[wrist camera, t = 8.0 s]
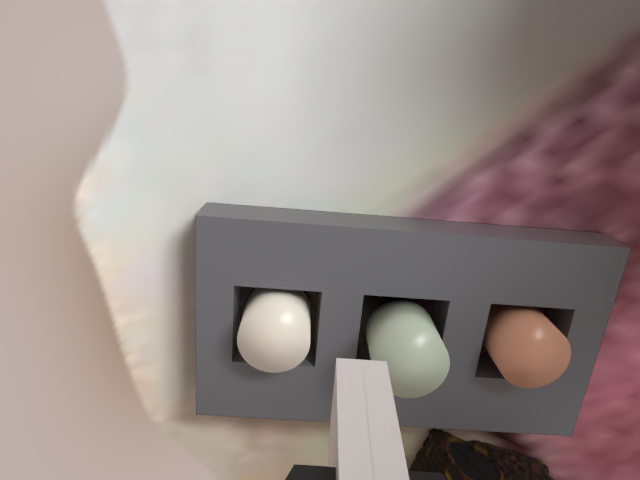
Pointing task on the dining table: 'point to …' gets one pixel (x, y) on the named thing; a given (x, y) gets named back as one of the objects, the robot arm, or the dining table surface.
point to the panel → (407, 282)
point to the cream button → (275, 329)
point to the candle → (475, 460)
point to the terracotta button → (525, 345)
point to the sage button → (408, 348)
